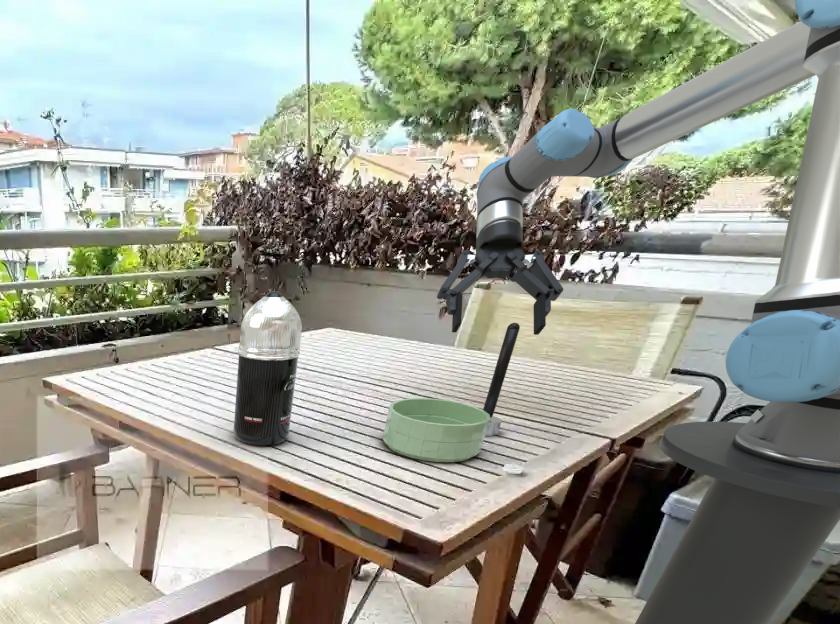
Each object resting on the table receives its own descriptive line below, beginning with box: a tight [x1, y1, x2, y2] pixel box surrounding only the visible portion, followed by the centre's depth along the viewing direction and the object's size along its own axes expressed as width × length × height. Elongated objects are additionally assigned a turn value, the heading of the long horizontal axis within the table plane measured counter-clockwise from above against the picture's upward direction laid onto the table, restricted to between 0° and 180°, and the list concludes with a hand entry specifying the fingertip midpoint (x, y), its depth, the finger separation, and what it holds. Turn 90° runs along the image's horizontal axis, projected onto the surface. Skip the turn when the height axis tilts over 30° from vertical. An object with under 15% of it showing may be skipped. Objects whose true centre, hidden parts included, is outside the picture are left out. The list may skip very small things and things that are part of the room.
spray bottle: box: [233, 290, 303, 447], centre depth 94 cm, size 10×10×25 cm
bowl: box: [382, 397, 490, 463], centre depth 93 cm, size 15×15×6 cm
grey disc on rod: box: [482, 322, 521, 437], centre depth 97 cm, size 5×5×19 cm
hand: (497, 329), depth 100 cm, fingers open, 13 cm apart
